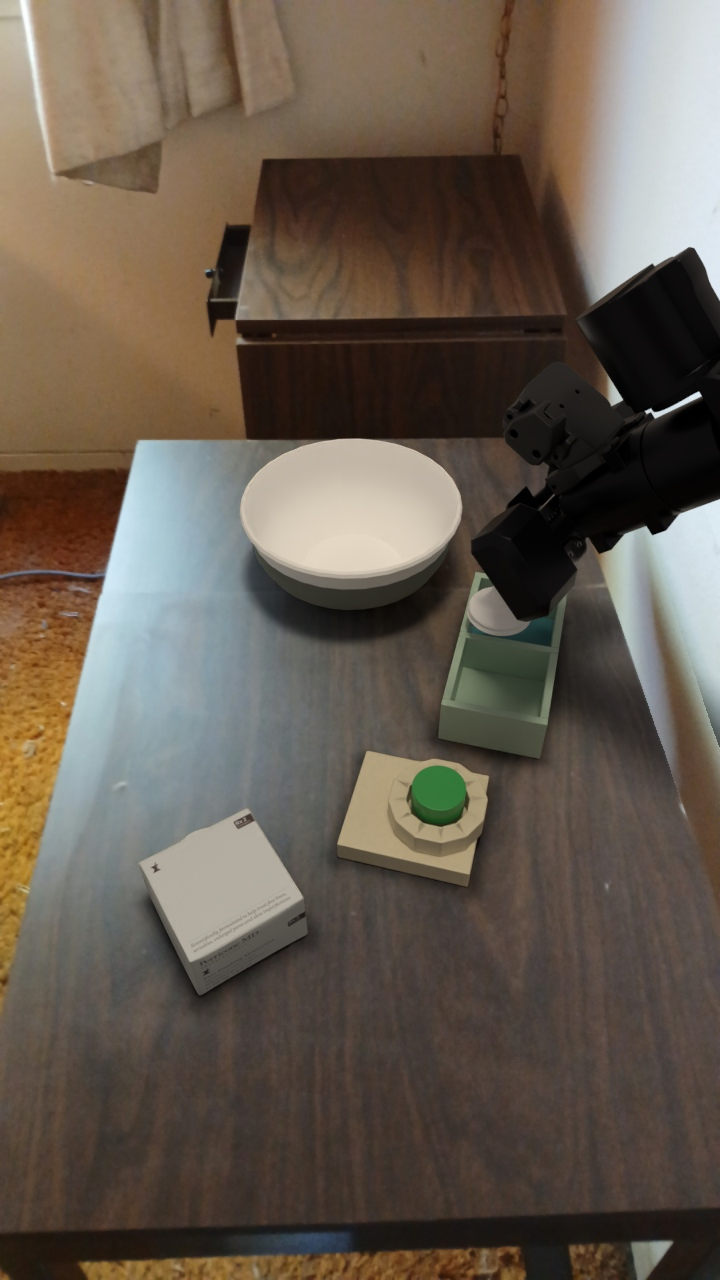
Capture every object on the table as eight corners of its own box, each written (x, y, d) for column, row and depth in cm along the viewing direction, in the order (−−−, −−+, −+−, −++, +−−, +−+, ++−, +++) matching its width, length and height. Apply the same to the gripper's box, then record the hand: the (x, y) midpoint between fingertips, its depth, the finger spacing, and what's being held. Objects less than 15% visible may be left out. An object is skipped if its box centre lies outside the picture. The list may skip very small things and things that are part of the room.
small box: (199, 1000, 54) (186, 965, 50) (149, 899, 59) (134, 859, 55) (311, 936, 57) (306, 897, 53) (255, 844, 61) (247, 802, 58)
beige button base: (490, 790, 64) (495, 761, 62) (471, 888, 59) (475, 861, 56) (366, 763, 66) (366, 735, 63) (337, 857, 61) (335, 829, 58)
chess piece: (454, 615, 68) (464, 510, 61) (492, 583, 71) (506, 479, 64) (506, 646, 66) (523, 541, 59) (543, 612, 69) (564, 507, 62)
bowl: (254, 659, 73) (243, 586, 67) (245, 518, 86) (235, 446, 80) (476, 636, 75) (485, 563, 69) (435, 501, 88) (439, 429, 82)
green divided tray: (471, 606, 77) (475, 571, 74) (560, 621, 76) (568, 586, 73) (437, 738, 67) (440, 704, 64) (539, 759, 66) (547, 725, 63)
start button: (468, 785, 61) (470, 771, 59) (459, 830, 58) (461, 815, 57) (417, 775, 61) (418, 760, 60) (405, 818, 59) (406, 804, 58)
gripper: (668, 285, 55) (498, 390, 68) (516, 420, 45) (350, 514, 58) (755, 435, 58) (575, 510, 70) (630, 595, 47) (445, 649, 60)
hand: (492, 540), depth 64 cm, fingers closed on chess piece
